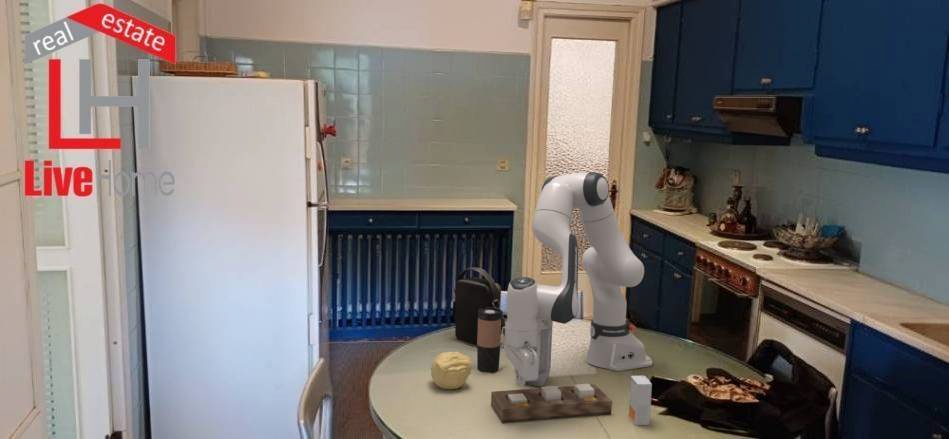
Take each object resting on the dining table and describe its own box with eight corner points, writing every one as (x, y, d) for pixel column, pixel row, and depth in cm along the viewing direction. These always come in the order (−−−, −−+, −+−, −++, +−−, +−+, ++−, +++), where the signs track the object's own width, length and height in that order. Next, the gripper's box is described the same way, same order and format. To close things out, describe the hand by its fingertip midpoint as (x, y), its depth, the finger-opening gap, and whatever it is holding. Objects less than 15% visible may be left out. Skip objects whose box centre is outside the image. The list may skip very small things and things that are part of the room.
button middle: (555, 395, 197) (556, 386, 196) (560, 402, 192) (561, 392, 192) (541, 396, 196) (541, 387, 195) (546, 403, 191) (546, 393, 191)
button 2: (587, 393, 199) (588, 383, 199) (593, 399, 195) (594, 389, 194) (573, 394, 198) (574, 384, 198) (579, 400, 194) (579, 390, 193)
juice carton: (551, 376, 219) (555, 295, 214) (544, 389, 209) (547, 304, 205) (524, 372, 222) (528, 292, 217) (516, 384, 212) (519, 300, 207)
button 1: (522, 403, 195) (522, 393, 194) (526, 409, 190) (527, 399, 190) (507, 404, 194) (507, 394, 193) (511, 411, 189) (512, 400, 189)
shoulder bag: (443, 337, 254) (445, 264, 249) (459, 331, 261) (461, 260, 256) (492, 352, 240) (494, 274, 235) (507, 345, 247) (509, 270, 242)
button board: (594, 396, 204) (595, 383, 203) (611, 414, 192) (612, 399, 192) (491, 404, 197) (491, 390, 196) (502, 423, 185) (502, 408, 184)
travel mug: (497, 374, 219) (499, 314, 216) (474, 372, 221) (475, 312, 218) (501, 365, 227) (503, 308, 224) (478, 363, 228) (480, 306, 225)
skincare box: (627, 415, 192) (630, 375, 190) (642, 415, 192) (645, 375, 190) (634, 425, 186) (637, 383, 184) (649, 425, 186) (652, 383, 184)
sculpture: (441, 395, 202) (441, 361, 200) (425, 381, 213) (425, 348, 211) (475, 389, 207) (476, 355, 206) (457, 375, 218) (458, 343, 216)
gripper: (544, 348, 179) (543, 397, 182) (521, 324, 199) (520, 369, 201) (522, 350, 178) (521, 400, 180) (500, 325, 198) (500, 370, 200)
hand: (520, 383), depth 191 cm, fingers closed
